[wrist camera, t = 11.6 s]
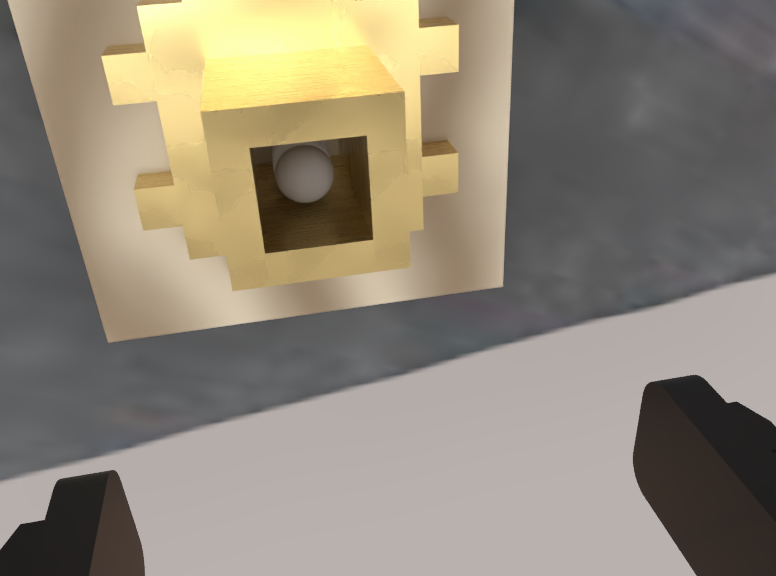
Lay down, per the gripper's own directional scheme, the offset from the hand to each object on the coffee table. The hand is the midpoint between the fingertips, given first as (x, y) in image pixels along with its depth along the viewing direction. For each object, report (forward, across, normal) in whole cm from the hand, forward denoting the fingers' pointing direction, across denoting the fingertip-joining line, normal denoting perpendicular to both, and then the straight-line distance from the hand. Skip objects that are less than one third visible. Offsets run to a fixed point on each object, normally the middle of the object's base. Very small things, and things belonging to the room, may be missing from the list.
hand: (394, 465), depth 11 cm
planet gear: (+19, 0, 0) cm, 19 cm away
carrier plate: (+20, 0, 0) cm, 20 cm away
